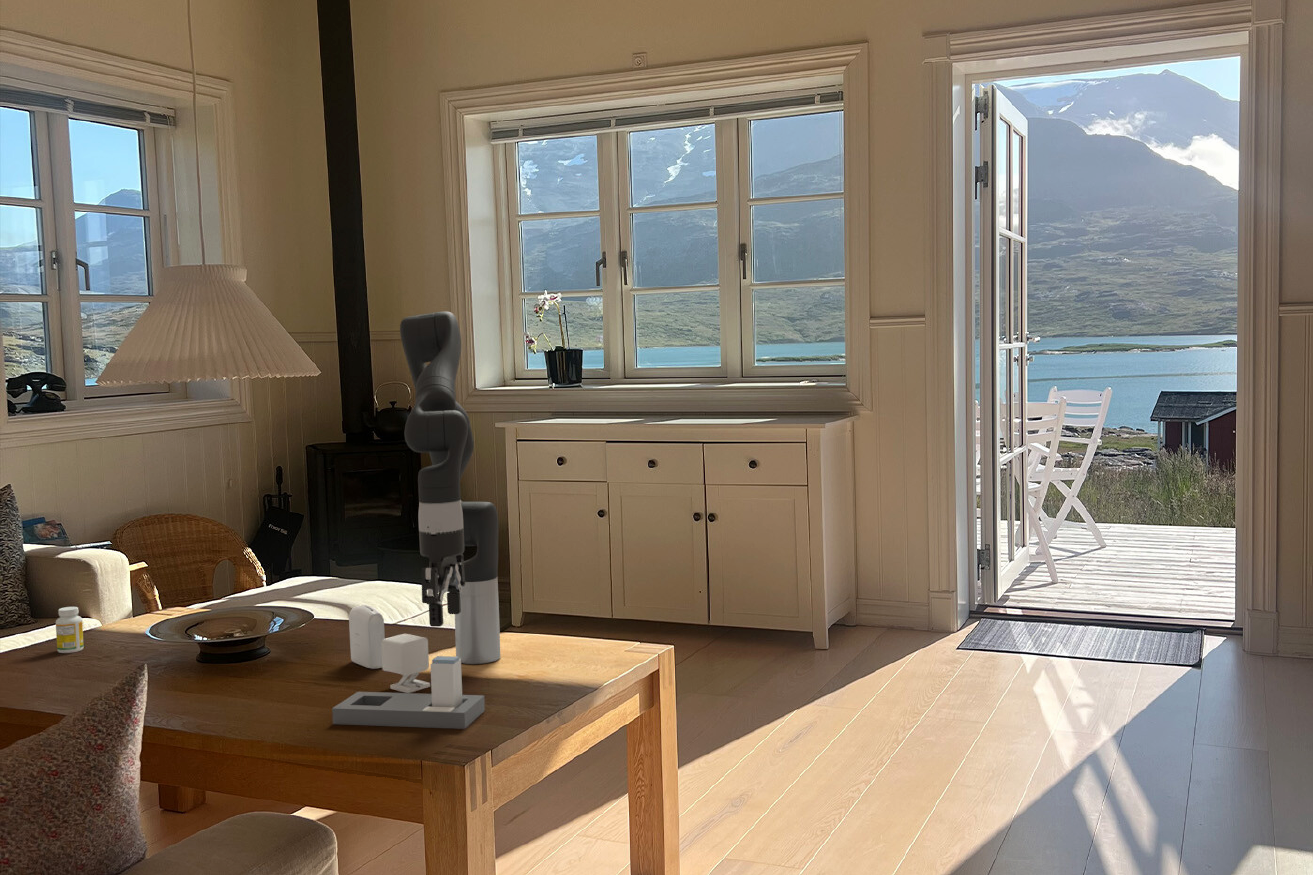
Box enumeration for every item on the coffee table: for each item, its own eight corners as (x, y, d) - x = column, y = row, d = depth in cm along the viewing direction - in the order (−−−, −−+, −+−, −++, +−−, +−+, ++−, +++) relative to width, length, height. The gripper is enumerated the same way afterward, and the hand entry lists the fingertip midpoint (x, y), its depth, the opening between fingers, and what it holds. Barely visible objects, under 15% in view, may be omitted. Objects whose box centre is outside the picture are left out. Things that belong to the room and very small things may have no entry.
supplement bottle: (67, 654, 255) (64, 611, 254) (52, 652, 257) (49, 610, 256) (89, 648, 259) (86, 606, 259) (73, 646, 262) (71, 605, 261)
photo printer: (348, 661, 242) (345, 603, 241) (367, 657, 245) (364, 600, 244) (369, 671, 234) (366, 611, 233) (388, 667, 237) (386, 607, 236)
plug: (441, 714, 202) (439, 654, 201) (463, 715, 201) (460, 655, 200) (432, 721, 198) (430, 660, 197) (454, 722, 197) (452, 661, 196)
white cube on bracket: (409, 683, 224) (407, 632, 224) (432, 688, 220) (430, 637, 219) (383, 690, 219) (380, 639, 219) (406, 696, 215) (404, 644, 214)
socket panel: (358, 709, 208) (357, 690, 207) (484, 713, 203) (484, 694, 203) (333, 727, 198) (332, 707, 198) (465, 732, 193) (464, 711, 193)
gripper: (435, 520, 204) (440, 609, 206) (404, 534, 190) (409, 630, 192) (475, 520, 203) (480, 610, 204) (447, 534, 189) (451, 630, 190)
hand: (445, 619), depth 198 cm, fingers open, 8 cm apart
